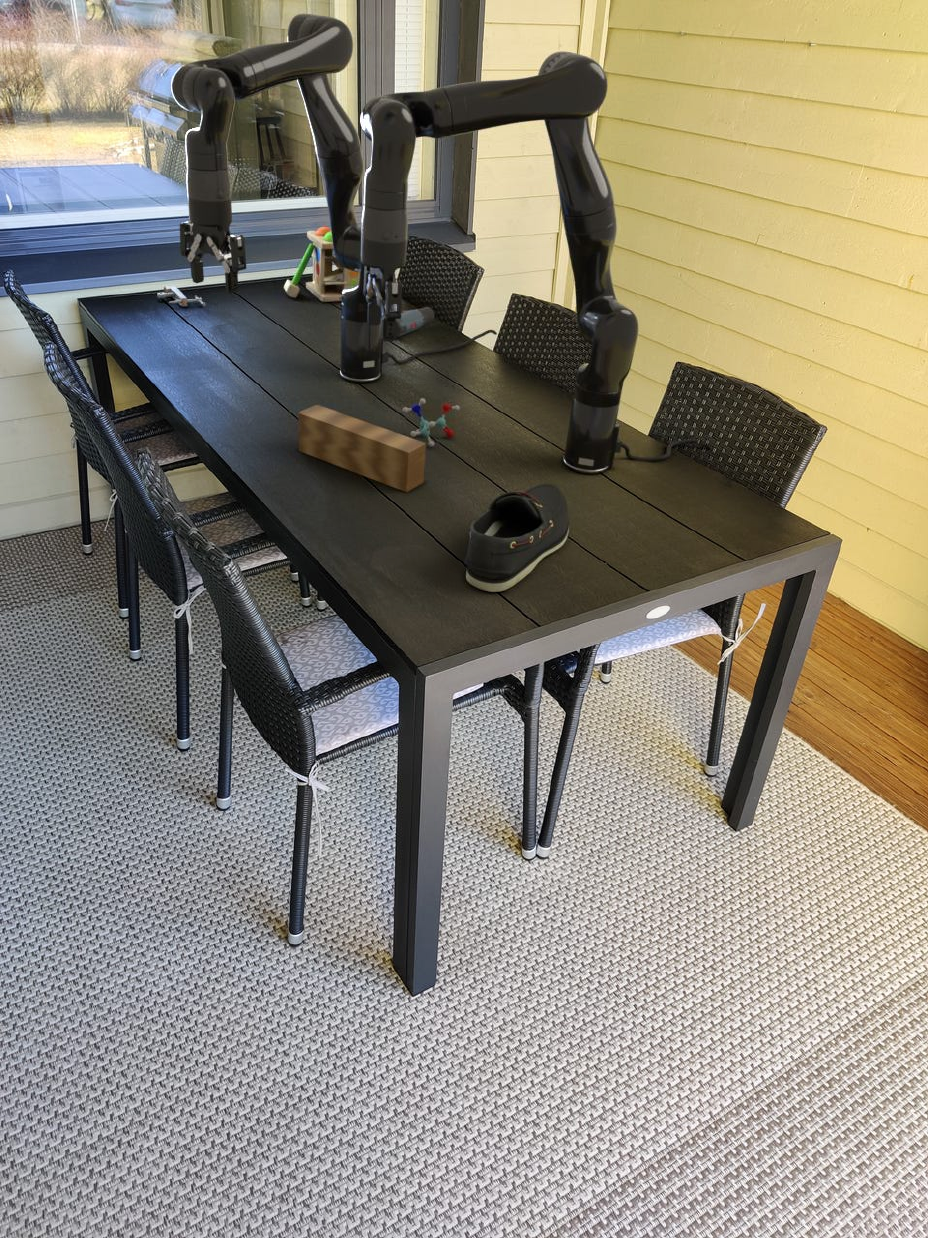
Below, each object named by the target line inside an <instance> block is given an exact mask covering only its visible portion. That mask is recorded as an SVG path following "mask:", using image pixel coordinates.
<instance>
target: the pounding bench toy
mask: <svg viewBox="0 0 928 1238" xmlns="http://www.w3.org/2000/svg"><path fill="white" fill-rule="evenodd" d="M306 237H307V239H309V240H310V241H311V242H312V243H309V244H308V246H307V248H306V251H305V253H304V255H303V257H302V259H301V261H300V263H299V265H298V267H297V269H296V271H295V273H294V275H293V278H292V280H290V279H287V280H286V281H285V283H284V285H283V289H284V290H285V292H286V294H287V296H289V297H291V298H297V296H298V295H299V292H300V287H299V285H298V284H299V282H300V280H301V278H302V276H303V275H304V272H305V270H306V268H307V265H308V263H309V262H310V259H311V258H312V281H307V282H306V281H305V288H306V289H307V291H309V292H310V293H311V294H312V295H314V296H315V298H318V299H319V301H321V302H323V303H327V302H329V303H330V302H342V301H341V297H342V290H343V289H344V288H345V287H347V286H351V285H356V284H358V283H359V276H360V273H359V272H355V271H352V270H349V269H346V268H344V267H342V266H341V265H340V264H339V263H338V261H337V259H336V257H335V255H333V253H334V249H333V242H332V234H331V228H330V227H328V226H321V227H319V228H318V229H317V230H307V231H306ZM333 264H334V265H335V267H336V269H334V270H333Z"/></svg>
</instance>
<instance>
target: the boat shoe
mask: <svg viewBox="0 0 928 1238" xmlns="http://www.w3.org/2000/svg"><path fill="white" fill-rule="evenodd" d="M569 533H570V514H569V508H568V502H567V499H566V497H565V495H564V493H563V492H562V490H561V489H560V488H559V487H558V486H557V485H554V484H552V483H541V484H537V485H534V486H532V487H530V488H528V489H526V490H525V491H519V490H518V491H517V490H511V491H507V492H505V493H502V494H501V495H499V496H498V495H497V497H495V498H494V500H493V501H492V502H491V503H490V504H489V506H488V508H487V510H486V511H484V512H483V513H481V514H480V515H479V516H478V517H477V518H475V519H474V520H473V521H471V524H470V525H469V527H468V529H467V536H469V539H468V545H467V550H466V557H465V559H464V564H465V566H466V573H465V579H466V581H467V582H468V583H469V584H470V585H471V586H473V587H475V588H477V589H479V590H482V591H486V592H491V593H496V592H503V591H506V590H508V589H510V588H512V587H514V586H516V585H517V584H518V583H519V582H520V581H521V580H523V579H524V578H525V577H526V576H528V575H529V574H530V573H531V572H532V571H533V569H535V568H536V566H537V565H538V563H540V562H541V561H542V560H543V559H544V558H545V557H547V556H549V555H550V554H552V553H554V552H555V551H557V550H559V549H560V548H561V547H563V545H564V544H565V542H567V539H568V537H569Z"/></svg>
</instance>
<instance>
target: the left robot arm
mask: <svg viewBox="0 0 928 1238" xmlns="http://www.w3.org/2000/svg"><path fill="white" fill-rule="evenodd" d="M286 38H287V39H286V40H287V41H284V42H276V43H266V44H260V45H254V46H251V47H248V48H244V49H241V50H239V51H236V52H232V53H231V54H229V55H226V56H223V57H218V58H217V57H215V58H208V59H202V60H196V61H191V62H188V63H186V64H183V65H182V66H181V67H179V68H178V69H177V71H175V73H174V74H173V76H172V79H171V87H170V88H171V93H172V96H173V98H174V100H175V102H176V103H177V105H179V106H180V107H181V108H183V110H187V111H189V112H192V113H197V114H201V120H200V124H199V127H195V128H192V129H189V130H188V131H187V132H186V134H185V140H184V142H185V155H186V156H185V157H186V191H187V192H186V193H187V203H188V204H187V206H188V207H187V208H188V220H189V221H184V222H180V223H179V246H180V248H179V249H180V255H181V256H182V257H185V258H187V260H188V261H189V264H190V275H191V279H192V283H195V284H199V283H200V284H201V283H203V282H204V281H205V277H204V276H205V275H204V261H203V260H202V259H203V258H204V255H205V254H209V255H211V256H213V257H216V260H217V261H218V262H219V263H220V264H221V265H222V267H223V269H224V271H225V272H224V279H225V280H224V281H225V292H226V293H227V294H233V293H237V291H238V290H239V274H238V273H239V272H241V271H244V270H246V269H247V256H246V254H247V253H246V243H245V237H244V234H238V235H234V234H232V233H231V231H230V226H231V225H232V222H233V210H232V188H231V187H232V186H231V178H230V177H231V176H230V170H229V156H228V140H229V135H230V131H231V125H232V120H233V115H234V110H235V103H236V101H243V100H247V99H249V98H252V97H254V96H256V95H258V94H261V93H264V92H265V91H269V90H271V89H273V88H276V87H279V86H282V85H284V84H288V83H291V82H294V81H297V85H298V87H299V90H300V93H301V96H302V100H303V102H304V106H305V107H304V108H305V111H306V116H307V119H308V122H309V127H310V130H311V135H312V140H313V145H314V150H315V155H316V159H317V164H318V168H319V172H320V175H321V176H320V177H321V179H322V184H323V189H324V194H325V195H324V196H325V199H326V204H327V209H328V217H329V223H330V230H331V234H332V242H333V253H334V256H335V257H336V259H337V261H338V263H339V264H340V265H341V266H342V267H344V268H346V269H349V270H352V271H355V272H359V273H360V276H359V283H358V284H356V285H351V286H347V287H345V288H344V289H343V290H342V297H341V301H340V302H341V307H340V308H341V310H340V311H341V312H340V314H341V315H340V322H341V323H340V370H339V376H340V377H341V378H342V380H345V381H348V382H352V383H359V384H360V383H361V384H364V383H365V384H366V383H367V384H369V383H373V382H376V381H378V380H380V378H381V375H382V374H383V364H386V363H388V362H389V359H390V358H391V360H392V361H393V362H394V363H395V364H397V365H398V364H399V365H404V364H406V363H408V362H410V361H412V360H414V359H416V358H418V357H422V356H427V355H432V354H433V355H434V354H440V353H444V352H448V351H449V352H450V351H453V350H456V349H459V348H463V347H465V346H467V345H469V344H472V343H473V342H475V341H476V340H478V339H480V338H483V337H484V336H486V335H488V334H493V335H495V336H497V335H498V333H497V332H496V330H494V329H488V330H485V331H484V332H481V333H479V334H477V335H475V336H473V337H472V338H470V339H469V340H467V341H464V342H462V343H459V344H456V345H452V346H447V347H444V348H438V349H433V350H427V351H421V352H416V353H414V354H413V355H411V356H409V357H407V358H406V359H403V360H398V359H397V358H396V356H395V355H394V354H393V353H389V352H390V351H388V350H386V349H384V341H383V340H382V338H381V336H382V313H381V322H380V324H379V325H369V324H368V322H367V318H368V303H369V302H367V300H366V296H364V293H363V291H364V269H365V265H364V264H363V263H362V262H361V227H362V226H359V224H358V221H357V217H356V211H355V198H356V196H357V193H358V190H359V188H360V185H361V183H362V180H363V179H364V178H363V177H364V175H365V161H364V156H363V151H362V146H361V140H360V137H359V133H358V131H357V129H356V128H355V126H354V123H353V122H352V120H351V118H350V117H349V116H348V114H347V112H346V111H345V109H344V108H343V106H342V105H341V103H340V102H339V100H338V99H337V97H336V95H335V93H334V91H333V89H332V86H331V84H330V81H329V76H328V75H329V74H338V73H340V72H343V70H345V69H346V68H347V67H348V65H349V64H350V62H351V59H352V57H353V52H354V40H353V36H352V32H351V30H350V27H349V26H348V25H347V24H346V23H345V22H344V21H342V20H340V19H338V18H336V17H332V16H325V15H320V14H313V13H299V14H296V15H294V16H293V17H292V18H291V20H290V21H289V24H288V28H287V35H286ZM225 253H226V254H225Z"/></svg>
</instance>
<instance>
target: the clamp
mask: <svg viewBox="0 0 928 1238" xmlns="http://www.w3.org/2000/svg"><path fill="white" fill-rule="evenodd" d="M156 295H157V299H166V298H173V299H174V300H171V301H168V304H176V305H177V304H179V306H181V307H188V304H189V303H197V304H201V306H202V307H206V305H207V304H206V303H205V302H203V298H202V297H199V296H197V295H194V296H193V297H194V298H192V299H188V298H187V297H186V296H185V295H184V294H183V292H182V291H181V290H179V289H178V288H177V286H176V285H173V286H163V292H157V294H156Z"/></svg>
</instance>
